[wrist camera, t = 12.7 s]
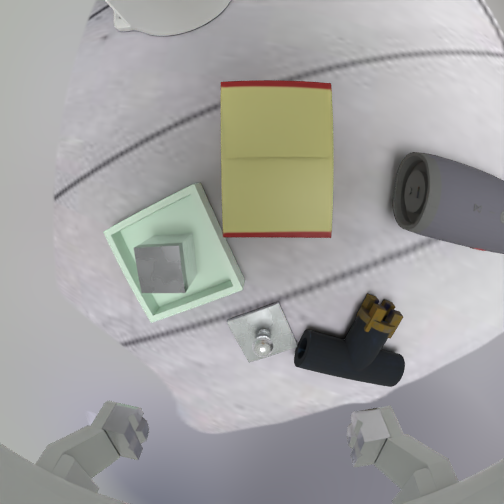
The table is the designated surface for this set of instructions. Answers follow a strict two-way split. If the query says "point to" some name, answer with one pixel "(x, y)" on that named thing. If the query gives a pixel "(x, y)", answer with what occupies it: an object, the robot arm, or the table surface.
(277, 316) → the stud
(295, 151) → the baking soda box
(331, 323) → the table surface
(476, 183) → the bluetooth speaker
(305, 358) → the pipe connector
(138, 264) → the brushed steel cube
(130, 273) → the tray
